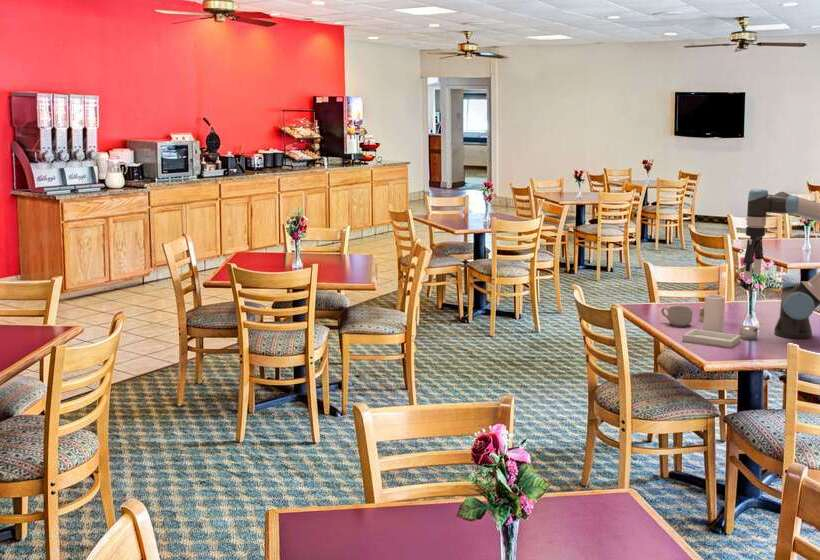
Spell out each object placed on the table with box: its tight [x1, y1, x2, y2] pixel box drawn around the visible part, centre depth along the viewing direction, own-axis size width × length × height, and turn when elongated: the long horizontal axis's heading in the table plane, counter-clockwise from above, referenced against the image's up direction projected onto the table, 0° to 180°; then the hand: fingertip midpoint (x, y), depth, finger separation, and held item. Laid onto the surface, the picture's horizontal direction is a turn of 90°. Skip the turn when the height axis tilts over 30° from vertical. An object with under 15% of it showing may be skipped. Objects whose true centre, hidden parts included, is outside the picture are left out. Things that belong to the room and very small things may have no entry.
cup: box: [702, 294, 726, 333], centre depth 407 cm, size 8×8×16 cm
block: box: [698, 306, 704, 323], centre depth 431 cm, size 5×5×6 cm
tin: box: [739, 325, 759, 341], centre depth 397 cm, size 7×7×5 cm
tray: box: [682, 328, 742, 349], centre depth 391 cm, size 20×14×3 cm
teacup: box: [660, 305, 694, 328], centre depth 422 cm, size 14×11×8 cm
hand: (752, 276), depth 393 cm, fingers open, 13 cm apart
